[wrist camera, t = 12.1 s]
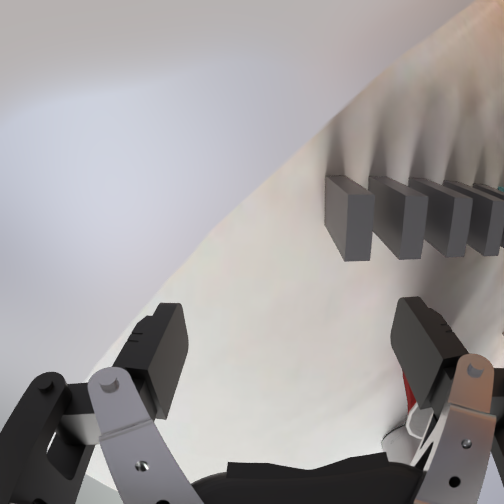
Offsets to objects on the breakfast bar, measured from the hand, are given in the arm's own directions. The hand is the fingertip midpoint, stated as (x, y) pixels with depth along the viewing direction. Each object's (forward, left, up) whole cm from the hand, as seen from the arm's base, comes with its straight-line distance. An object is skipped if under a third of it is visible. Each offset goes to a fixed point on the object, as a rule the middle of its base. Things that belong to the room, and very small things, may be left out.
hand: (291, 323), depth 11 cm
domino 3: (-8, -12, -20) cm, 25 cm away
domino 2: (-6, -8, -20) cm, 23 cm away
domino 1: (-3, -5, -20) cm, 21 cm away
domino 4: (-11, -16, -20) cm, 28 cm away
